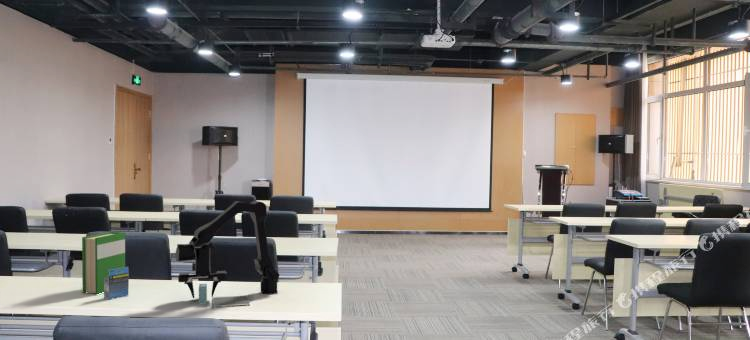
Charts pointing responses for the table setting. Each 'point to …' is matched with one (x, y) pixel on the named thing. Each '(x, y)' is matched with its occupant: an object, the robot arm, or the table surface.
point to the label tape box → (116, 283)
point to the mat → (231, 301)
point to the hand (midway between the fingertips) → (202, 297)
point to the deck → (202, 293)
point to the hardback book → (101, 259)
